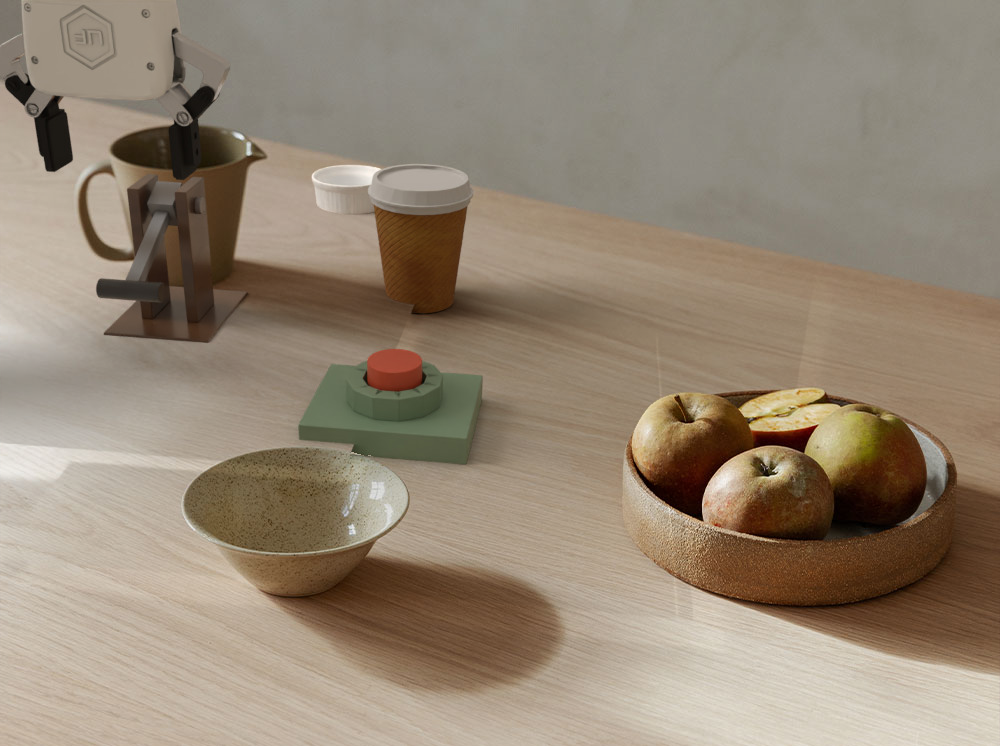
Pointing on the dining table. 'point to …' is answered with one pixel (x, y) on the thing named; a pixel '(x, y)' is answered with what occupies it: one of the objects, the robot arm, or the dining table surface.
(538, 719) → the dining table surface
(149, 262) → the lever
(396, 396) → the button box
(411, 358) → the button
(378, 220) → the disposable coffee cup
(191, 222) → the bracket
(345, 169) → the ramekin
